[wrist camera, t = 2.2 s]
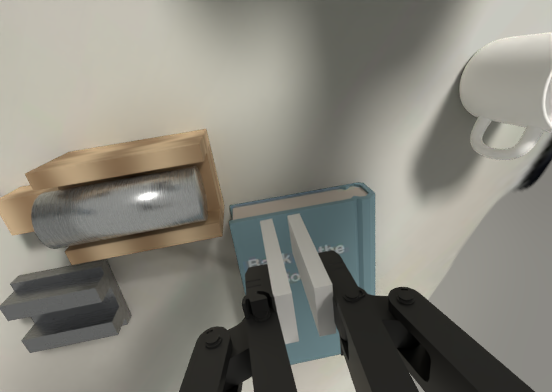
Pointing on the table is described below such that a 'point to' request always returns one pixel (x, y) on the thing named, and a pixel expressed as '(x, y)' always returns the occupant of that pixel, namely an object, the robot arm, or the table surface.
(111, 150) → the beam
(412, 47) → the table surface
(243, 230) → the book
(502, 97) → the cup
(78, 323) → the v block
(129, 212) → the axle
